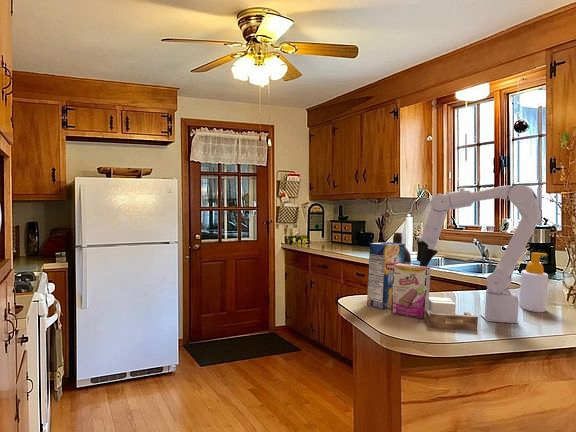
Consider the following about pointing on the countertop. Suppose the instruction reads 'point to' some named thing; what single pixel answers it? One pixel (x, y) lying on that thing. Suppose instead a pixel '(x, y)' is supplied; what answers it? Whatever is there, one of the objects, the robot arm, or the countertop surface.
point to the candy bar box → (410, 290)
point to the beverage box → (383, 272)
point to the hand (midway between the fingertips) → (421, 263)
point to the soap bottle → (534, 285)
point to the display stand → (451, 321)
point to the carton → (441, 305)
